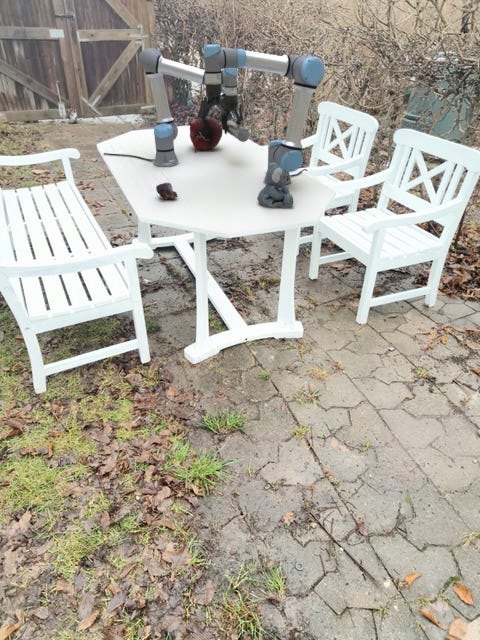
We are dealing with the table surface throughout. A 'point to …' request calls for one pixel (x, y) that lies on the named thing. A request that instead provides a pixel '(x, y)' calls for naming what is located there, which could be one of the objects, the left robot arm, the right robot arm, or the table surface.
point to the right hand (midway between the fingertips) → (215, 131)
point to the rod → (237, 131)
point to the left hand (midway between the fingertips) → (231, 133)
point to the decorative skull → (205, 140)
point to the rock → (166, 191)
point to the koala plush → (275, 189)
